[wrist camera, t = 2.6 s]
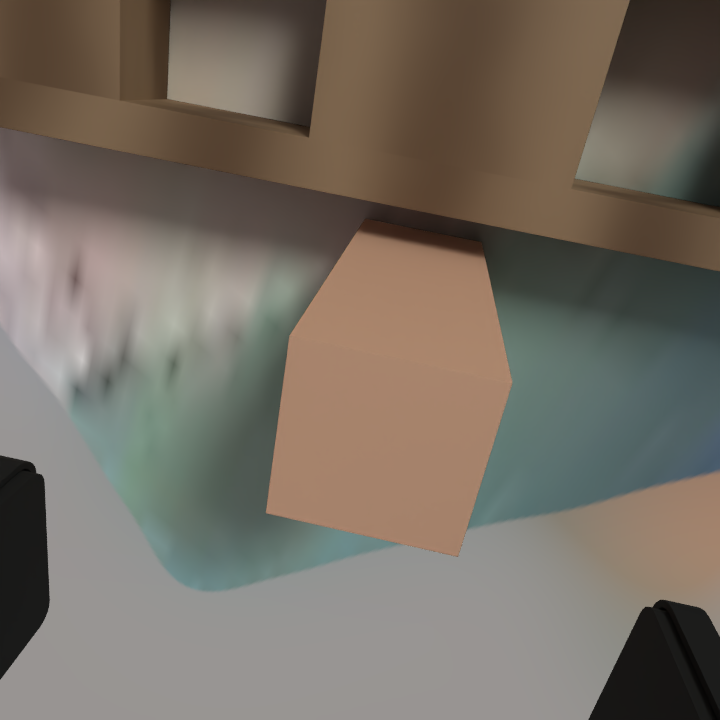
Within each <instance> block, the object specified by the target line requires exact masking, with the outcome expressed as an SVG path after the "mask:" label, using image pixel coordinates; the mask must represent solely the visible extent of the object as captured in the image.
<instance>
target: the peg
mask: <svg viewBox="0 0 720 720" xmlns="http://www.w3.org/2000/svg"><path fill="white" fill-rule="evenodd" d="M511 386H512V379H511V375H510V370H509V365H508V361H507V356H506V352H505V347H504V342H503V338H502V333H501V329H500V324H499V320H498V315H497V310H496V306H495V301H494V297H493V292H492V288H491V283H490V278H489V274H488V269H487V265H486V260H485V256H484V251H483V246H482V242H478V241H473V240H468V239H463V238H458V237H453V236H448V235H444V234H439V233H434V232H429V231H424V230H419V229H414V228H409V227H404V226H399V225H394V224H389V223H384V222H379V221H374V220H369V219H365V220H364V221H363V223H362V225H361V226H360V228H359V229H358V231H357V232H356V234H355V235H354V237H353V238H352V240H351V242H350V243H349V245H348V246H347V248H346V249H345V251H344V252H343V254H342V255H341V257H340V259H339V260H338V262H337V263H336V265H335V266H334V268H333V269H332V271H331V272H330V274H329V275H328V277H327V279H326V280H325V282H324V283H323V285H322V286H321V288H320V289H319V291H318V292H317V294H316V296H315V297H314V299H313V300H312V302H311V303H310V305H309V306H308V308H307V309H306V311H305V313H304V314H303V316H302V317H301V319H300V320H299V322H298V323H297V325H296V326H295V328H294V329H293V331H292V333H291V334H290V336H289V343H288V351H287V358H286V366H285V373H284V381H283V388H282V396H281V403H280V411H279V418H278V426H277V433H276V441H275V448H274V456H273V463H272V471H271V478H270V485H269V493H268V500H267V508H266V513H268V514H272V515H277V516H281V517H285V518H290V519H294V520H298V521H303V522H307V523H312V524H316V525H320V526H325V527H329V528H333V529H338V530H342V531H347V532H351V533H355V534H360V535H364V536H369V537H373V538H377V539H382V540H386V541H390V542H395V543H399V544H404V545H408V546H412V547H417V548H422V549H426V550H431V551H434V552H439V553H443V554H448V555H452V556H456V557H458V555H459V552H460V549H461V546H462V543H463V539H464V536H465V533H466V530H467V527H468V523H469V520H470V517H471V514H472V511H473V507H474V504H475V501H476V498H477V495H478V491H479V488H480V485H481V482H482V479H483V475H484V472H485V469H486V466H487V463H488V459H489V456H490V453H491V450H492V447H493V443H494V440H495V437H496V434H497V431H498V427H499V424H500V421H501V418H502V415H503V411H504V408H505V405H506V402H507V399H508V395H509V392H510V389H511Z"/></svg>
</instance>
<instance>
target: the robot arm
mask: <svg viewBox="0 0 720 720" xmlns="http://www.w3.org/2000/svg"><path fill="white" fill-rule="evenodd" d="M49 601H50V599H49V576H48V554H47V531H46V509H45V486H44V478H43V476H42V475H40V474H37V473H36V468H35V466H34V465H33V464H32V463H31V462H28V461H23V460H19V459H14V458H9V457H5V456H0V679H1V678H2V677H3V675H4V674H5V673H6V671H7V670H8V669H9V667H10V666H11V665H12V663H13V662H14V661H15V659H16V658H17V657H18V655H19V654H20V653H21V651H22V650H23V649H24V647H25V646H26V645H27V643H28V642H29V641H30V639H31V638H32V637H33V636H34V634H35V633H36V632H37V630H38V629H39V628H40V626H41V624H42V623H43V621H44V619H45V617H46V614H47V612H48V608H49ZM589 720H720V637H719V635H718V633H717V631H716V629H715V627H714V626H713V624H712V622H711V620H710V618H709V616H708V615H707V613H706V612H705V611H704V610H702V609H701V608H698V607H694V606H690V605H685V604H680V603H675V602H671V601H667V600H659V601H658V602H656V603H655V604H654V606H653V607H645V608H644V609H643V610H642V611H641V613H640V615H639V617H638V619H637V621H636V623H635V625H634V627H633V629H632V631H631V633H630V635H629V638H628V640H627V641H626V644H625V646H624V648H623V650H622V652H621V654H620V656H619V658H618V660H617V662H616V664H615V666H614V668H613V670H612V672H611V674H610V676H609V678H608V681H607V683H606V685H605V687H604V689H603V691H602V693H601V695H600V697H599V699H598V701H597V703H596V705H595V707H594V709H593V711H592V714H591V715H590V718H589Z"/></svg>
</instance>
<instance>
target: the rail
mask: <svg viewBox="0 0 720 720" xmlns="http://www.w3.org/2000/svg"><path fill="white" fill-rule="evenodd" d="M170 1H171V0H0V127H2V128H7V129H12V130H17V131H22V132H27V133H32V134H37V135H42V136H47V137H52V138H57V139H62V140H67V141H72V142H77V143H82V144H87V145H92V146H97V147H102V148H107V149H112V150H117V151H122V152H127V153H132V154H137V155H142V156H147V157H152V158H157V159H162V160H167V161H172V162H177V163H182V164H187V165H192V166H197V167H202V168H207V169H212V170H217V171H222V172H227V173H232V174H237V175H242V176H247V177H252V178H257V179H262V180H267V181H272V182H277V183H282V184H286V185H291V186H296V187H301V188H306V189H311V190H316V191H321V192H326V193H331V194H336V195H341V196H346V197H351V198H356V199H361V200H366V201H371V202H376V203H381V204H386V205H391V206H396V207H401V208H406V209H411V210H416V211H421V212H426V213H431V214H436V215H441V216H446V217H451V218H456V219H461V220H466V221H471V222H476V223H481V224H486V225H491V226H496V227H501V228H506V229H511V230H516V231H521V232H526V233H531V234H536V235H541V236H546V237H551V238H556V239H561V240H566V241H571V242H576V243H581V244H586V245H591V246H596V247H601V248H605V249H610V250H615V251H620V252H625V253H630V254H635V255H640V256H645V257H650V258H655V259H660V260H665V261H670V262H675V263H680V264H685V265H690V266H695V267H700V268H705V269H710V270H715V271H720V207H716V206H711V205H706V204H701V203H696V202H691V201H686V200H680V199H675V198H670V197H665V196H660V195H655V194H650V193H645V192H640V191H634V190H629V189H624V188H619V187H614V186H609V185H604V184H599V183H594V182H588V181H583V180H578V179H574V178H575V175H576V172H577V169H578V165H579V162H580V159H581V156H582V152H583V149H584V146H585V143H586V140H587V136H588V133H589V130H590V127H591V124H592V120H593V117H594V114H595V111H596V107H597V104H598V101H599V98H600V95H601V91H602V88H603V85H604V82H605V79H606V75H607V72H608V69H609V66H610V62H611V59H612V56H613V53H614V50H615V46H616V43H617V40H618V37H619V34H620V30H621V27H622V24H623V21H624V17H625V14H626V11H627V8H628V5H629V1H630V0H327V2H326V10H325V17H324V25H323V33H322V41H321V48H320V56H319V64H318V72H317V79H316V87H315V95H314V103H313V110H312V118H311V126H310V127H307V126H302V125H297V124H292V123H287V122H281V121H276V120H271V119H266V118H261V117H256V116H251V115H246V114H241V113H235V112H230V111H225V110H220V109H215V108H210V107H205V106H200V105H194V104H189V103H184V102H179V101H174V100H169V99H167V86H168V58H169V29H170Z"/></svg>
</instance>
